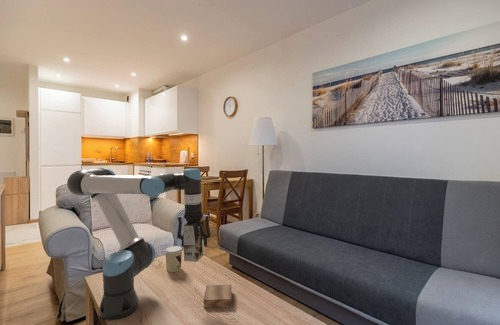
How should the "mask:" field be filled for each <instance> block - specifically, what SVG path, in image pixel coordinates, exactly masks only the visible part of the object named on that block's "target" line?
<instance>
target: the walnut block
mask: <svg viewBox="0 0 500 325" xmlns="http://www.w3.org/2000/svg"><path fill="white" fill-rule="evenodd" d="M232 291H233V290H232V284H212V285H211V284H207V285H206V286H205V292H204V297H203V309H206V308H207V309H210V308H211V309H212V308H215V309H216V308H232V294H233V293H232Z"/></svg>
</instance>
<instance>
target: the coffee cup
mask: <svg viewBox="0 0 500 325" xmlns="http://www.w3.org/2000/svg"><path fill="white" fill-rule="evenodd" d="M164 252H165V254H164V255H165V263H166V267H165V268H166V272H168V273H177V272H179V271H181V269H182V258H183V256H182V254H183V248H182V246H179V245H171V246H168V247H166V249H165V250H164Z"/></svg>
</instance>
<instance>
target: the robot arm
mask: <svg viewBox="0 0 500 325" xmlns="http://www.w3.org/2000/svg"><path fill="white" fill-rule="evenodd" d="M66 186H67V188H68V191H69V192H70V193H72V194H73V195H75V196H80V197H81V196H90V198H91V200H92V201H95V202H97V203H98V205H99V207H100V209H101V211H102V213H103V214H104V217H105V220H106V221H107V224H109V227H110V229H111V230H112V232H113V234H114V237H115V238H116V240H117V242H118V245H119V246H120V247H119V250H118V251H117V252H116V251H115V252H112V253H111V254H109V255H107V256H106V257H105V258H104V259H103V263H102V280H103V282H102V283H103V296H102V298H101V303H100V304H99V307H98V308H99V309H98V310H99V311H98V314H99V317H100V318H101V319H103V320H106V321H112V320H114V321H116V320H120V319H124V318H126V317H129V316H130V315H132V314H133V313H135V312H136V310H138V308H139V305H140V304H139V297H138V294H137V292H136V290H135V277H136V276H138V275H139V274H140V273H141V272H143V271H144V270H146V269H148V267H149V266H150V265H152V264H153V262H154V261H155V258H156V249H155V247H154V245H153V244H152V243H151V242H148V241H146V240H145V238H144V237H142V236H139V234H138V233H137V231H136V229H135V228H134V225H133V223H132V221H131V219H130V217H129V216H128V214H127V211H126V210H125V207H124V206H123V204H122V202H121V200H120V198H119V196H118V194H119V195H120V194H122V195H123V194H124V195H145V196H146V197H147V196H148V197H156V196H159V195H162V194H164V193H168V192H171V191H180V190H181V191H183V193H184V203H185V204H184V215H179V216H178V217H177V222H178V224H177V226H178V227H177V235H176V236H177V237H176V238H177V239H179V240H181V248H182V247H183V248H184V236H183V234H182V232H183V231H182V230H183V221H184V219H185V221H186V223H187V224H190V223H197V224H199V225H200V231H201V233H202V236H203V238H202V254H204V253H205V252H206V249H205V248H206V247H207V244H208V239H209V238H210V237H211V230H210V229H211V228H210V222H209V218H210V215H209V214H204V213H203V207H202V206H203V205H202V201H203V200H202V175H201V170H200V169H199V168H185V169H183V172H182V173H181V172H180V173H177V172H176V173H173V172H171V173H170V172H165V173H160V174H158V175H117V174H116V173H115V172H114V171H113V170H111V168H110V169H109V168H108V167H107V168H106V167H97V168H90V169H89V168H88V169H80V170H77V171H74V172H73V173H71V174H70V175H69V177H68V179H67V181H66ZM202 218H203V221H204V224H205V227H204V228H203V226H202V224H200V222H201V221H200V220H202ZM205 229H206V230H205ZM204 255H205V254H204Z"/></svg>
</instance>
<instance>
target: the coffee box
mask: <svg viewBox="0 0 500 325" xmlns="http://www.w3.org/2000/svg"><path fill="white" fill-rule="evenodd" d="M200 221H201V222H200V224H202V226H203V228H204V229H205V225H204V224H205V220H204V219H203V220H202V219H201V220H200ZM182 230H183V231H182V235H183V236H184V247H183V261H184V262H192V263H198V261H199V260H201V258H202V257H203V256H204V255H205V252H204V254H202V238H203V236H202V233H201V231H200V225H199V224H197V223H190V224H187V222H186V223H185V224H182Z"/></svg>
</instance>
